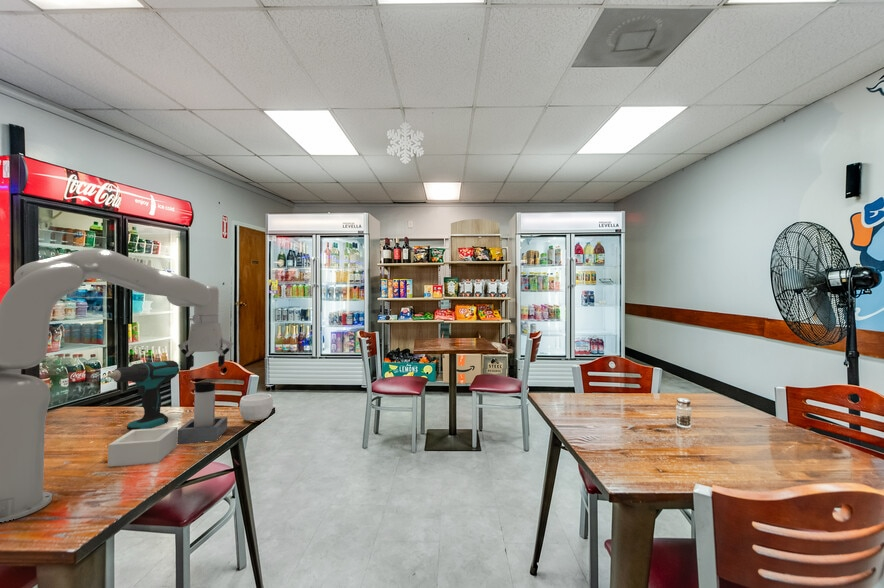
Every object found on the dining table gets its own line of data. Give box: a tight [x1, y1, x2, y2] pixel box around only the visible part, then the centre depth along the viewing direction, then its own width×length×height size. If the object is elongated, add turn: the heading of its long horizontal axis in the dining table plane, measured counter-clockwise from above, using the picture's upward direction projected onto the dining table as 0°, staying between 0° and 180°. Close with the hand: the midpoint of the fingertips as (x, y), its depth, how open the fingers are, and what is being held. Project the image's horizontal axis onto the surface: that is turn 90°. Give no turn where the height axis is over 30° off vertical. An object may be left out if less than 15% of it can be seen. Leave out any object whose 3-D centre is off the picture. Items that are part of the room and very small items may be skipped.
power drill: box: [106, 360, 180, 430], centre depth 144 cm, size 26×9×25 cm, turn 168°
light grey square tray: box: [107, 426, 179, 468], centre depth 119 cm, size 13×13×6 cm
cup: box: [239, 392, 274, 422], centre depth 154 cm, size 12×12×10 cm
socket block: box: [177, 416, 228, 445], centre depth 135 cm, size 12×12×5 cm
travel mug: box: [193, 381, 216, 428], centre depth 135 cm, size 6×7×20 cm
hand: (206, 366), depth 136 cm, fingers open, 9 cm apart
